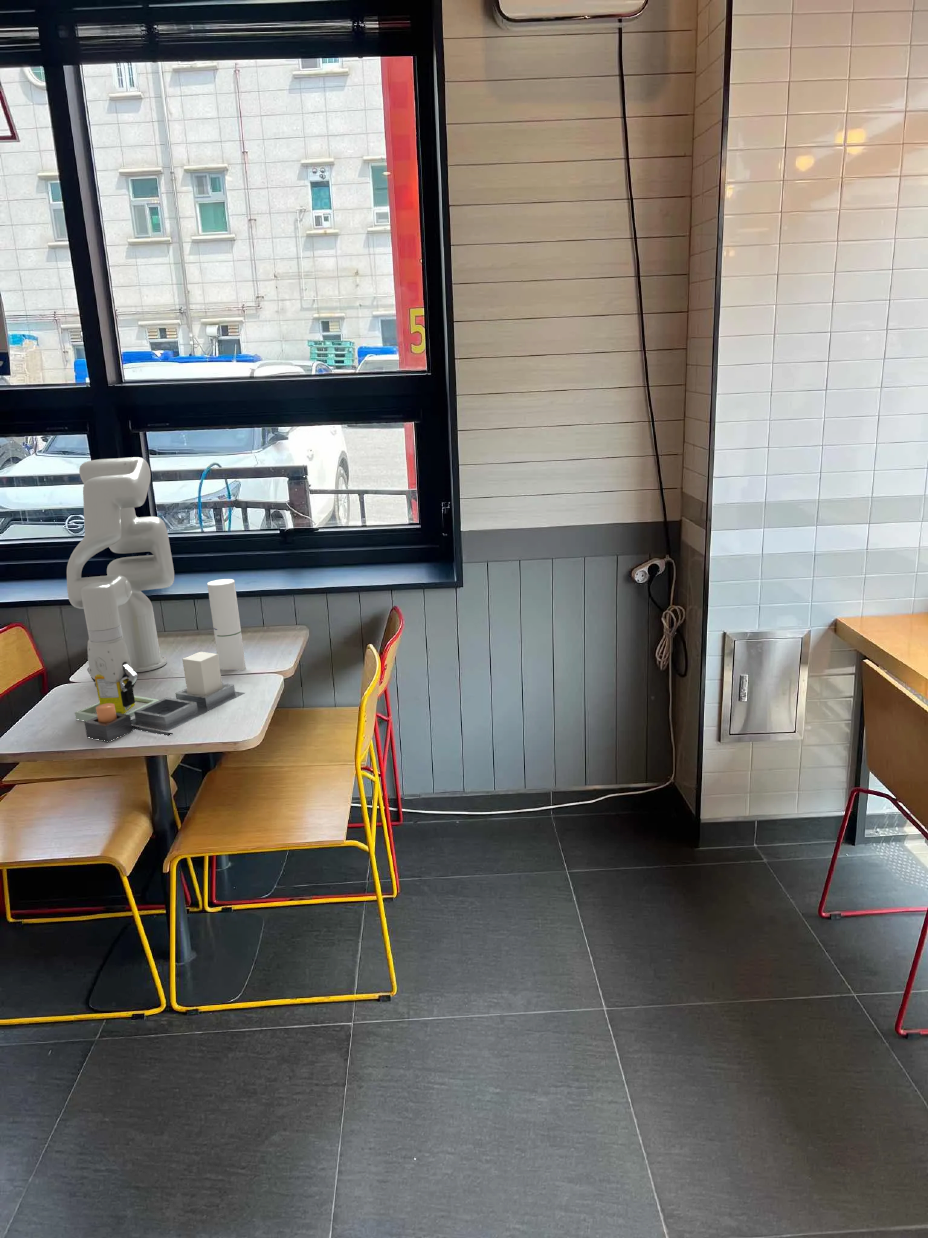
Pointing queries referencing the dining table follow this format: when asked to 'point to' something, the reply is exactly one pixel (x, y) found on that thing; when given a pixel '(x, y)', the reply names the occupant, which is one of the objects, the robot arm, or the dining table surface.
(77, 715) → the frame
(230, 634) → the cylindrical container
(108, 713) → the button
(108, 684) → the supplement box
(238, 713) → the dining table surface
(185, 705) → the grey open box
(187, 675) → the block
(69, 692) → the dining table surface
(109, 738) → the button housing
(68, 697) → the dining table surface
